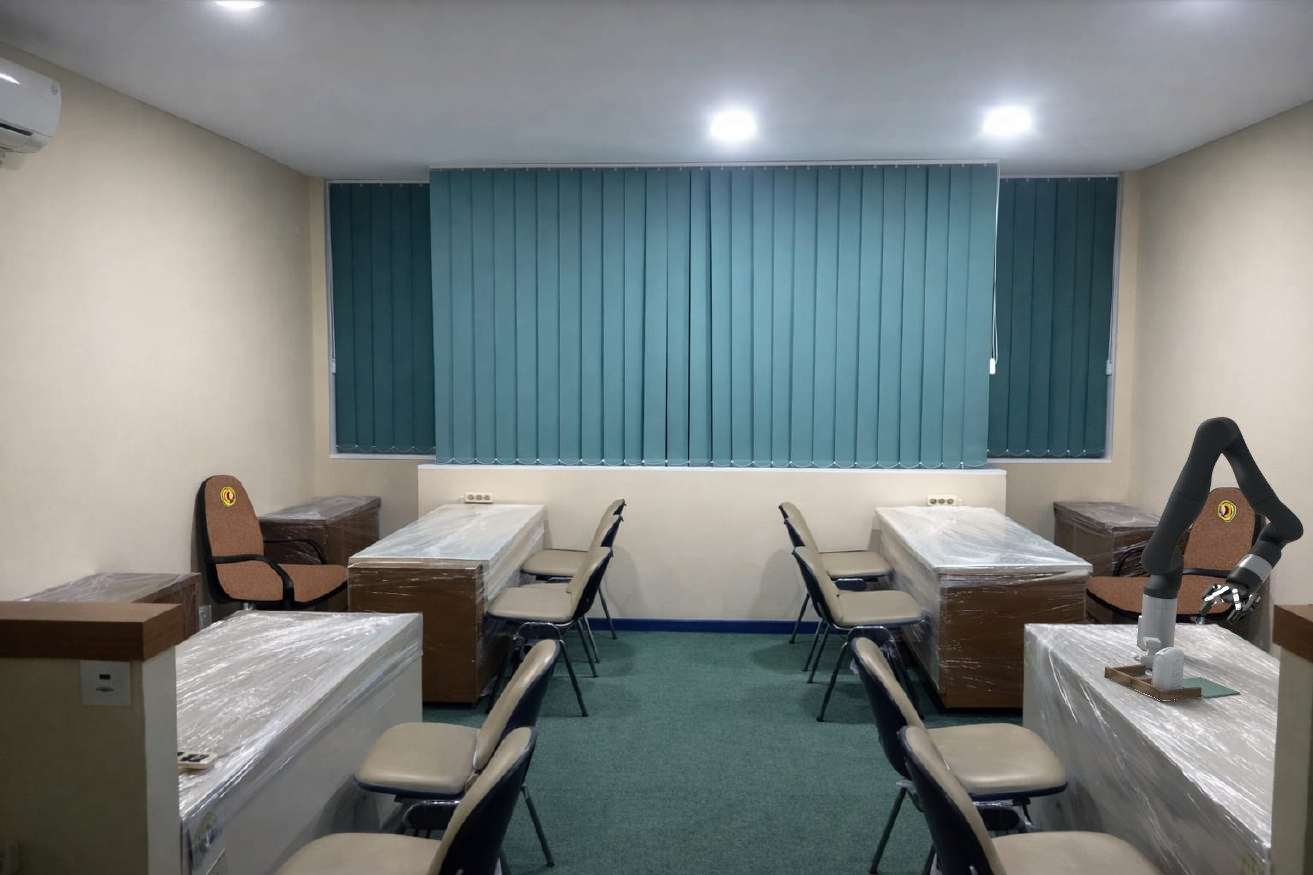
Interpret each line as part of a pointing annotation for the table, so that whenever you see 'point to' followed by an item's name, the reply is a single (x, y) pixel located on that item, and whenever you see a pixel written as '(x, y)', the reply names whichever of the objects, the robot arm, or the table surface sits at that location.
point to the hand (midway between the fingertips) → (1215, 618)
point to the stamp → (1148, 651)
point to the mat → (1208, 687)
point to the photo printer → (1168, 669)
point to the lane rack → (1147, 683)
